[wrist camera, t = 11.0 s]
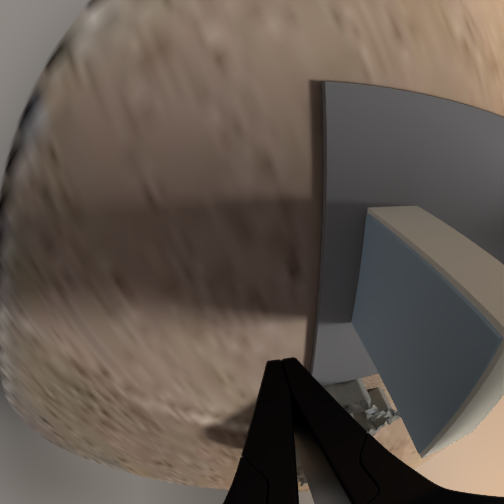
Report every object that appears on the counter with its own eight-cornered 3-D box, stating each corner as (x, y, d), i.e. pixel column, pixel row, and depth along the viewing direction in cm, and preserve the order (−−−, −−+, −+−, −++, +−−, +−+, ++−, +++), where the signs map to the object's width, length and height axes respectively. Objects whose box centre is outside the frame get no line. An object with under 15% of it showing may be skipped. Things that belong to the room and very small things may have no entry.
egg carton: (291, 451, 22) (299, 488, 18) (229, 432, 19) (232, 479, 15) (393, 392, 19) (412, 432, 16) (348, 359, 16) (371, 412, 13)
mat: (524, 126, 10) (529, 127, 10) (472, 336, 17) (475, 339, 17) (321, 82, 9) (325, 81, 9) (308, 383, 16) (310, 388, 16)
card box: (416, 205, 11) (554, 309, 4) (394, 313, 14) (472, 431, 7) (364, 207, 11) (508, 338, 4) (349, 323, 14) (418, 460, 7)
